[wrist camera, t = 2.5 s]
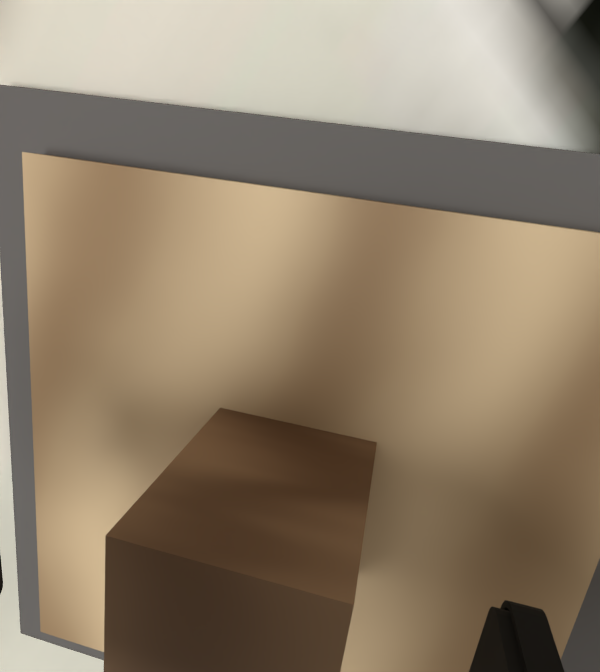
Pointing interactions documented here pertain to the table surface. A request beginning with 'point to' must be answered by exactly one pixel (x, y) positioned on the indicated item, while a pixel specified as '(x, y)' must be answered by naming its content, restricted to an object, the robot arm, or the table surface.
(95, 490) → the lid
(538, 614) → the robot arm
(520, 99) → the table surface
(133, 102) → the mat
